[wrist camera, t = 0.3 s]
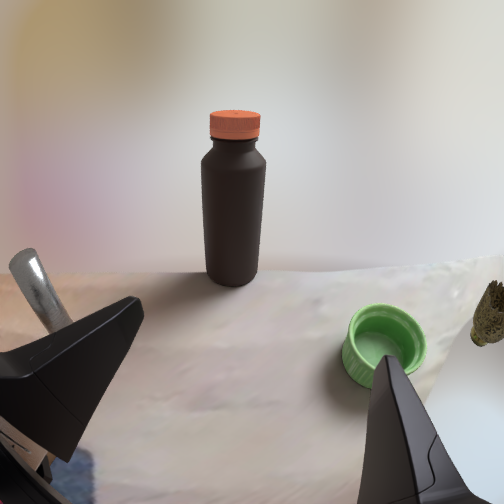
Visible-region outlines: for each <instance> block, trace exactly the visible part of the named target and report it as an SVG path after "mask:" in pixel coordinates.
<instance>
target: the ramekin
mask: <svg viewBox="0 0 504 504" xmlns="http://www.w3.org/2000/svg"><path fill="white" fill-rule="evenodd" d="M426 351H427V342H426V338H425V335H424V332H423V330H422V328H421V327H420V325H419V324H418V322H417V321H416V320H415V319H414V318H413V317H412V316H411V315H410V314H408V313H407V312H405V311H404V310H402V309H400V308H398V307H396V306H393V305H389V304H383V303H376V304H370V305H367V306H365V307H363V308H361V309H360V310H358V311H357V312H356V313H355V315H354V316H353V317H352V319H351V321H350V324H349V328H348V334H347V337H346V339H345V342H344V345H343V349H342V360H343V364H344V367H345V369H346V371H347V373H348V374H349V375H350V376H351V378H352V379H353V380H355V381H356V382H357V383H359V384H360V385H362V386H364V387H367V388H370V389H372V382H373V375H374V370H375V368H376V366H377V365H378V363H379V361H380V360H381V358H382V357H383V355H385V354H387V355H394V356H396V358H397V359H398V361H399V363H400V364H401V366H402V368H403V370H404V371H405V373H406V375H410V374H411V373H413V372H414V371H416V370H417V369H418V368H419V367H420V365H421V364H422V363H423V361H424V359H425V356H426Z"/></svg>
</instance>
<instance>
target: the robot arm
mask: <svg viewBox="0 0 504 504" xmlns="http://www.w3.org/2000/svg"><path fill="white" fill-rule="evenodd" d="M143 319H144V311H143V307H142V304H141V301H140V299H139V298H137V297H134V296H128V297H126V298H124V299H122V300H120V301H118V302H116V303H113V304H111V305H109V306H107V307H105V308H103V309H101V310H99V311H97V312H95V313H93V314H91V315H89V316H86V317H84V318H82V319H80V320H78V321H76V322H74V323H72V324H70V325H68V326H66V327H64V328H62V329H60V330H58V331H57V332H54V333H52V334H50V335H47V336H45V337H43V338H41V339H39V340H36V341H34V342H31V343H29V344H26V345H24V346H21V347H19V348H16V349H13V350H11V351H8V352H0V500H1V501H2V502H3V503H4V504H72V503H71V502H70V501H69V500H67V499H66V498H65V497H64V496H62V495H61V494H60V493H59V492H57V491H56V490H55V489H54V488H53V487H52V486H50V485H49V484H50V483H51V481H52V474H51V470H50V465H49V460H48V456H47V455H46V454H47V452H50V453H51V454H53V455H55V456H56V457H58V458H60V459H61V460H63V461H65V462H66V463H68V462H69V461H70V459H71V457H72V455H73V453H74V451H75V449H76V447H77V445H78V442H79V440H80V439H81V437H82V435H83V433H84V431H85V429H86V426H87V425H88V423H89V421H90V419H91V417H92V415H93V413H94V411H95V409H96V407H97V406H98V404H99V402H100V400H101V398H102V396H103V395H104V393H105V391H106V389H107V387H108V386H109V384H110V382H111V380H112V379H113V377H114V375H115V373H116V371H117V370H118V368H119V366H120V365H121V363H122V361H123V359H124V358H125V356H126V354H127V352H128V351H129V349H130V347H131V345H132V343H133V340H134V338H135V336H136V334H137V332H138V330H139V327H140V325H141V323H142V321H143ZM357 504H491V503H489V502H487V501H485V500H483V499H481V498H479V497H477V496H476V495H474V494H473V493H472V492H471V491H470V490H469V489H468V487H467V486H466V484H465V483H464V481H463V479H462V478H461V476H460V474H459V472H458V471H457V469H456V467H455V466H454V464H453V462H452V461H451V459H450V457H449V455H448V453H447V451H446V449H445V447H444V445H443V443H442V442H441V439H440V437H439V435H438V434H437V432H436V429H435V427H434V425H433V423H432V421H431V419H430V417H429V416H428V414H427V412H426V410H425V408H424V406H423V404H422V402H421V400H420V398H419V396H418V395H417V393H416V391H415V389H414V387H413V386H412V384H411V382H410V380H409V378H408V377H407V375H406V373H405V371H404V370H403V368H402V366H401V364H400V363H399V361H398V359H397V358H396V356H394V355H387V354H385V355H383V357H382V358H381V360H380V361H379V363H378V365H377V366H376V368H375V370H374V375H373V382H372V390H371V396H370V403H369V409H368V419H367V433H366V444H365V454H364V462H363V470H362V477H361V484H360V490H359V496H358V501H357Z"/></svg>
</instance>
